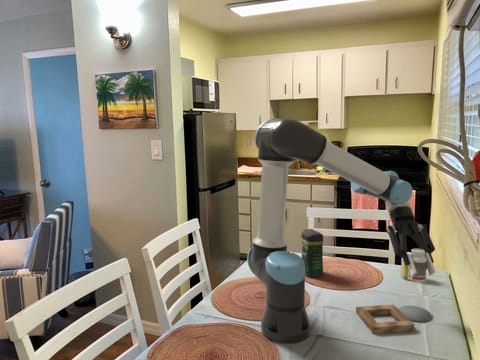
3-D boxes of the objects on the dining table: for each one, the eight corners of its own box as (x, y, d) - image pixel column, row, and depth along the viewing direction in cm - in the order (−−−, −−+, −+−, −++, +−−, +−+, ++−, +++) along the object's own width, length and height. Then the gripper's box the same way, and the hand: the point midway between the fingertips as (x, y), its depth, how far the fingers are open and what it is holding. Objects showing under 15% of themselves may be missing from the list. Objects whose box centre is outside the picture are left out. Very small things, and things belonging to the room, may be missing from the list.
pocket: (372, 333, 116) (372, 327, 116) (355, 312, 129) (356, 306, 129) (413, 330, 117) (414, 324, 117) (393, 310, 130) (393, 304, 130)
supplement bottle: (418, 279, 154) (420, 255, 152) (406, 281, 153) (407, 256, 151) (409, 274, 159) (411, 250, 158) (397, 276, 158) (399, 252, 156)
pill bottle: (429, 279, 125) (430, 250, 123) (419, 283, 122) (421, 254, 120) (413, 274, 129) (415, 246, 127) (404, 278, 126) (405, 249, 125)
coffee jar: (326, 276, 159) (326, 232, 156) (308, 278, 157) (309, 234, 154) (314, 267, 168) (315, 226, 165) (298, 270, 166) (298, 228, 163)
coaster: (407, 323, 122) (407, 321, 122) (392, 307, 132) (392, 306, 132) (437, 320, 123) (437, 319, 123) (420, 306, 132) (420, 304, 132)
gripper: (420, 215, 139) (445, 276, 125) (370, 217, 137) (390, 280, 123) (429, 204, 132) (457, 267, 119) (377, 206, 131) (399, 270, 117)
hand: (423, 273), depth 121 cm, fingers closed on pill bottle, 5 cm apart
